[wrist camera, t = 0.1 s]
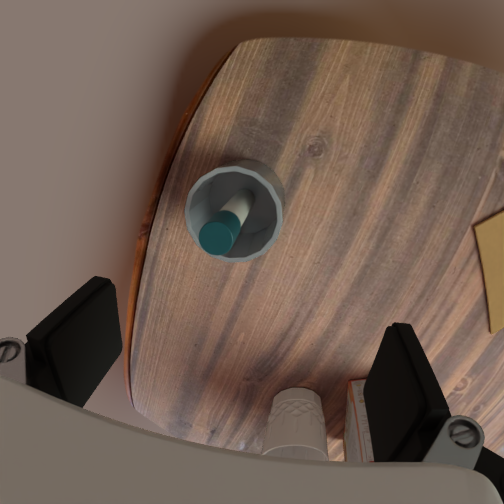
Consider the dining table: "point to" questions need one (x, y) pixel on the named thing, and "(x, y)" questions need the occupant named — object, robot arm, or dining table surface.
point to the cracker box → (356, 425)
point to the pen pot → (259, 218)
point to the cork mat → (493, 266)
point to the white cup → (296, 426)
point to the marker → (226, 223)
